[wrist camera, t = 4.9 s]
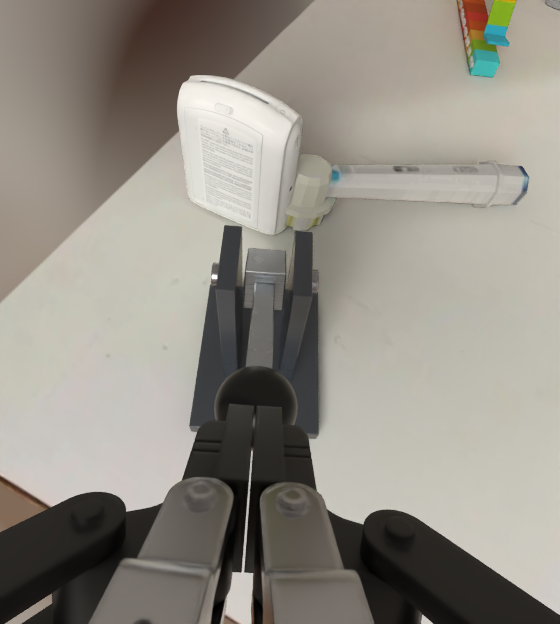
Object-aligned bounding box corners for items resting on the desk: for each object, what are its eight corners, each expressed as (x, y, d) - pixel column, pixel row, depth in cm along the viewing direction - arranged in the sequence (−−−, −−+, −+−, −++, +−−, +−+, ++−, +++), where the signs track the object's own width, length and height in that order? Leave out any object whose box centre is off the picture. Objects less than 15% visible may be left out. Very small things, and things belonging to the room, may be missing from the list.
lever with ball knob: (294, 471, 17) (303, 411, 15) (209, 466, 17) (208, 405, 15) (289, 291, 27) (295, 244, 26) (238, 287, 27) (240, 240, 26)
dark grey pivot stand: (316, 439, 32) (354, 367, 21) (190, 431, 32) (162, 354, 21) (316, 299, 38) (345, 186, 27) (211, 291, 38) (197, 174, 27)
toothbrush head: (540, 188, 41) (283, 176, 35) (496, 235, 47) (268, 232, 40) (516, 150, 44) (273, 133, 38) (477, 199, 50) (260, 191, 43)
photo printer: (297, 213, 43) (315, 94, 32) (278, 243, 41) (290, 127, 30) (205, 176, 45) (193, 51, 34) (182, 203, 42) (161, 79, 32)
